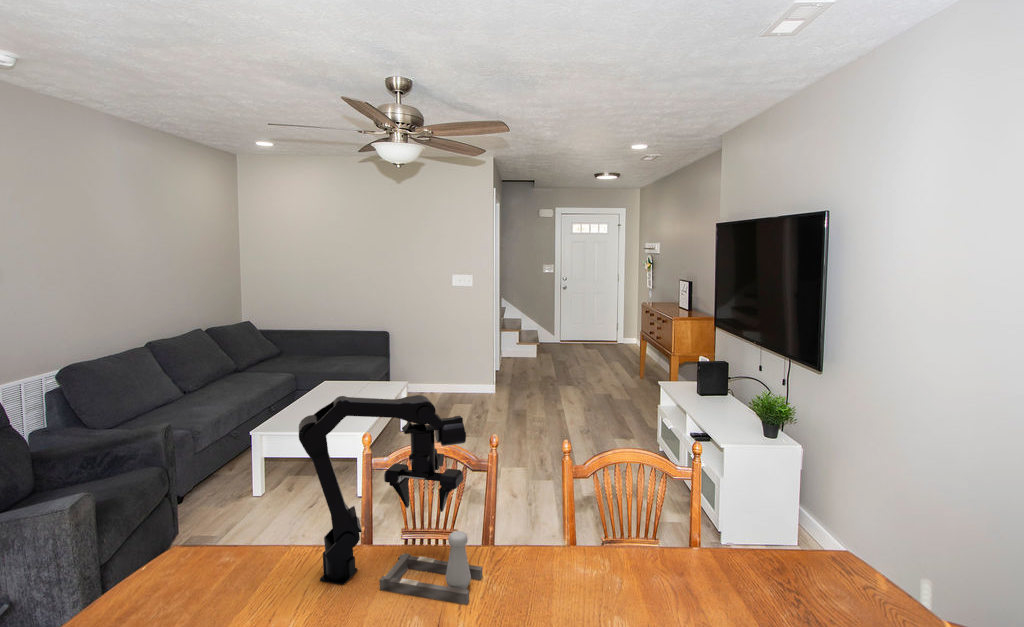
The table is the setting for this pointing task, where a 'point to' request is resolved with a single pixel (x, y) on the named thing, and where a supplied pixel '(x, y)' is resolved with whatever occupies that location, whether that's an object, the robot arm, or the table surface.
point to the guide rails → (424, 589)
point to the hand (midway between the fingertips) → (424, 509)
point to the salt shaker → (458, 561)
